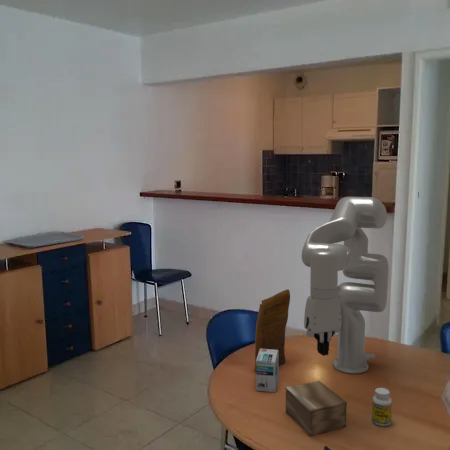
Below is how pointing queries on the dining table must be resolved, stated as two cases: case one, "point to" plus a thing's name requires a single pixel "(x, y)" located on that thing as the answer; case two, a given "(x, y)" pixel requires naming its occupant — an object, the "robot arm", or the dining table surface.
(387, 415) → the supplement bottle
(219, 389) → the dining table surface
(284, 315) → the pancake mix bag
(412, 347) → the dining table surface
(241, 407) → the dining table surface
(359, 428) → the dining table surface
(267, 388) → the light bulb box
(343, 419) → the wooden box
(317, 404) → the lid
